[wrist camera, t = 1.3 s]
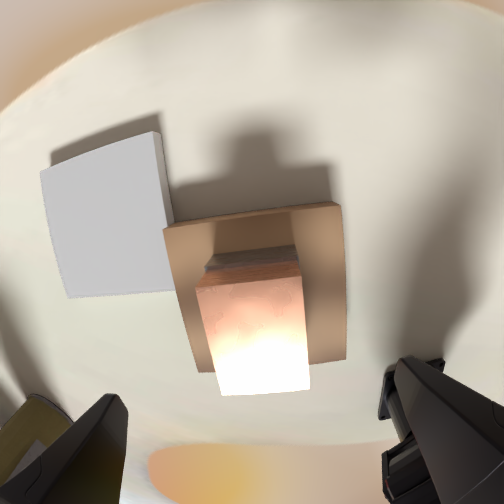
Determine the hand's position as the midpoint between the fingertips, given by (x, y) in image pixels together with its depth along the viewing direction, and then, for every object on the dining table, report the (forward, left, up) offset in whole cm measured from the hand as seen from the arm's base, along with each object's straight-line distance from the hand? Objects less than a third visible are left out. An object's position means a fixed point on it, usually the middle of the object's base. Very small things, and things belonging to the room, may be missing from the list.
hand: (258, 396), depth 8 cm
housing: (-2, +1, -11) cm, 11 cm away
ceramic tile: (+5, +12, -13) cm, 18 cm away
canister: (-21, +34, -13) cm, 42 cm away
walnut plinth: (-2, +1, -13) cm, 13 cm away
